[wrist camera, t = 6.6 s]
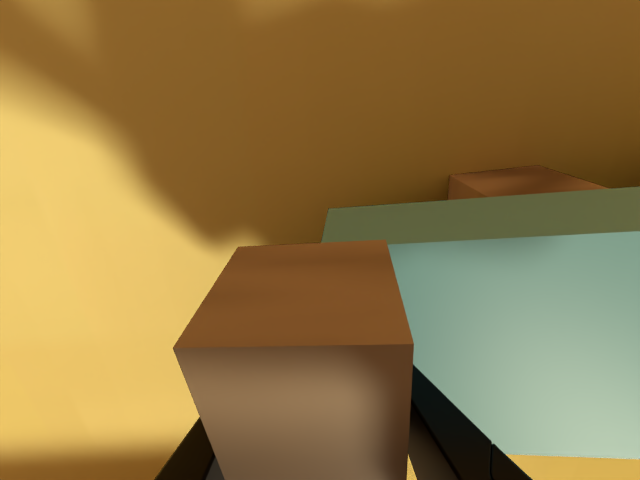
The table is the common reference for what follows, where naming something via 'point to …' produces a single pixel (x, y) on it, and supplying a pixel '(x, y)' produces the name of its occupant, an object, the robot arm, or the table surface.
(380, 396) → the block
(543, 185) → the block
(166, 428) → the table surface
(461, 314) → the slab
